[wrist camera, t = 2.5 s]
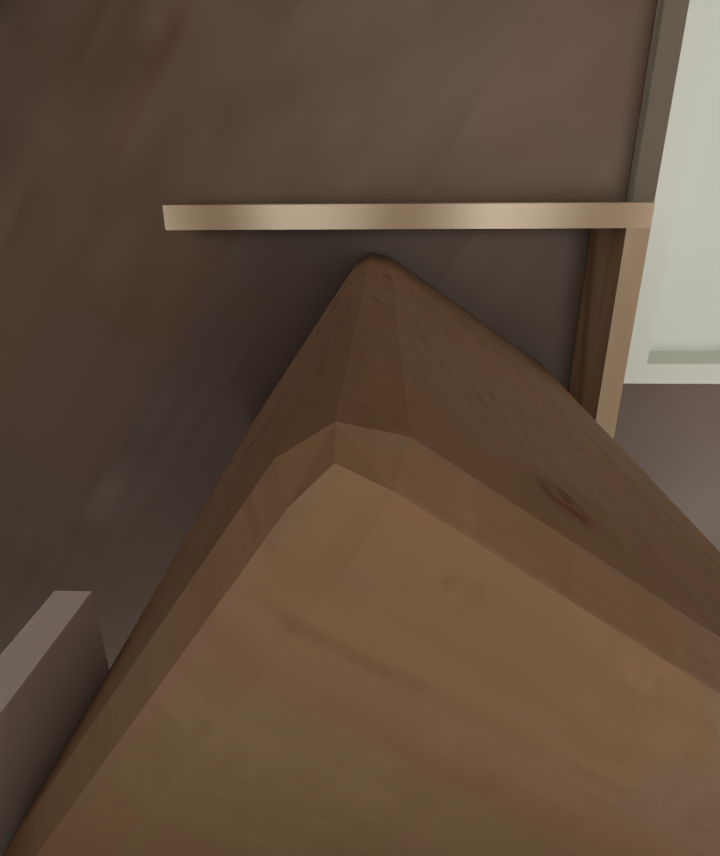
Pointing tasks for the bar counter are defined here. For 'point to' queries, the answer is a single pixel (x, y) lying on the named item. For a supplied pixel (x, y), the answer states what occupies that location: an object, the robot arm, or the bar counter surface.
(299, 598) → the wooden block
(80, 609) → the robot arm
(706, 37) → the tray
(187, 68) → the bar counter surface
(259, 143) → the bar counter surface
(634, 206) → the bay
